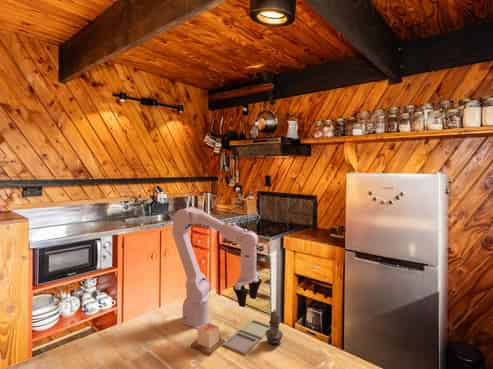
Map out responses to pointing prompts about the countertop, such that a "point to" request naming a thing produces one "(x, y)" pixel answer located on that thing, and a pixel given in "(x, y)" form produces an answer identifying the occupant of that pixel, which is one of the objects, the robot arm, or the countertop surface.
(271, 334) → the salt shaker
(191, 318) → the robot arm
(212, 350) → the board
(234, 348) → the tray grey
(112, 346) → the countertop surface
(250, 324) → the tray sage
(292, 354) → the countertop surface
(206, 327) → the letter cube
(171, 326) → the countertop surface
